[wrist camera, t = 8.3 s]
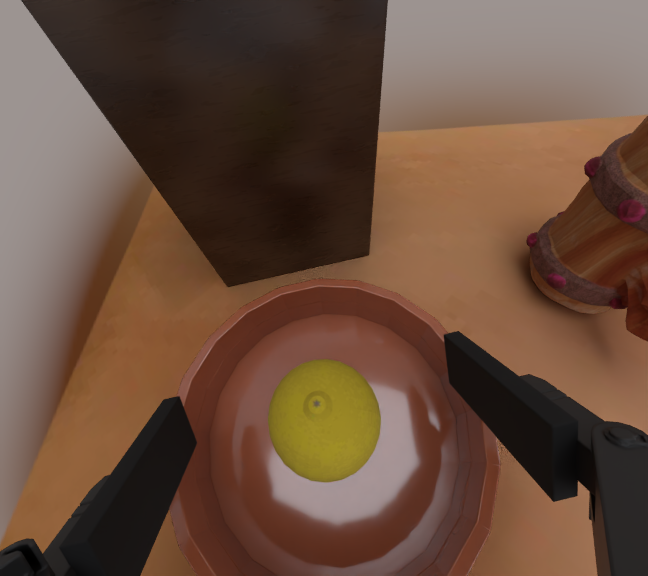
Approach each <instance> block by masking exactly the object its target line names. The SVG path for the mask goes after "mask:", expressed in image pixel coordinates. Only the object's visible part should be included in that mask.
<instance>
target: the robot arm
mask: <svg viewBox="0 0 648 576" xmlns="http://www.w3.org/2000/svg"><path fill="white" fill-rule="evenodd" d="M444 343H445V352H446V361H447V369H448V378H449V384H450V385H451V386H452V387H453V388H454V389H455V390H456V391H457V393H458V394H459V395H460V396H461V397H462V398H463V399H464V401H465V402H466V403H467V404H468V405H469V406H470V407H471V409H472V410H473V411H474V412H475V413H476V414H477V415H478V416H479V418H480V419H481V420H482V421H483V422H484V423H485V424H486V426H487V427H488V428H489V429H490V430H491V431H492V432H493V434H494V435H495V436H496V437H497V438H498V439H499V440H500V442H501V443H502V444H503V445H504V446H505V447H506V448H507V449H508V451H509V452H510V453H511V454H512V455H513V456H514V457H515V459H516V460H517V461H518V462H519V463H520V464H521V465H522V467H523V468H524V469H525V470H526V471H527V472H528V473H529V474H530V476H531V477H532V478H533V479H534V480H535V481H536V482H537V484H538V485H539V486H540V487H541V488H542V489H543V490H544V492H545V493H546V494H547V495H548V496H549V497H550V498H551V500H552V501H553V502H555V501H559V500H563V499H567V498H571V497H575V496H577V492H578V481H579V482H580V483H581V484H582V485H583V486H584V487H586V488H587V489H588V490H589V491H590V502H589V519H590V520H592V528H593V537H594V546H595V556H596V565H597V574H598V576H648V435H647V434H645V433H644V432H643V431H641V430H639V429H637V428H635V427H632V426H630V425H626V424H623V423H619V422H610V421H604V420H602V419H601V418H599V417H598V416H596V415H595V414H593V413H592V412H590V411H589V410H588V409H586V408H585V407H583V406H582V405H580V404H579V403H577V402H576V401H574V400H573V399H571V398H570V397H567V396H566V394H564V393H563V392H561V391H560V390H557V389H556V388H555V387H554V386H552V385H551V384H550V383H548V382H547V381H545V380H543V379H541V378H538V377H535V376H533V375H530V374H528V375H523V376H518V375H517V374H515V373H514V372H513V371H511V370H510V369H509V368H507V367H506V366H504V365H503V364H502V363H500V362H499V361H498V360H496V359H495V358H494V357H492V356H491V355H490V354H488V353H487V352H486V351H484V350H483V349H482V348H480V347H479V346H478V345H476V344H475V343H474V342H472V341H471V340H470V339H468V338H467V337H466V336H464V335H463V334H462V333H460V332H459V331H457V332H452V333H448V334H444ZM196 445H197V440H196V438H195V435H194V433H193V430H192V427H191V425H190V422H189V419H188V417H187V414H186V412H185V409H184V406H183V404H182V401H181V399H180V396H177V397H173V398H169V399H164V400H163V401H162V403H161V404H160V406H159V407H158V408H157V410H156V411H155V413H154V414H153V415H152V417H151V418H150V420H149V421H148V422H147V424H146V425H145V427H144V428H143V430H142V431H141V432H140V434H139V435H138V437H137V438H136V439H135V441H134V442H133V444H132V445H131V446H130V448H129V449H128V451H127V452H126V453H125V455H124V456H123V458H122V459H121V461H120V462H119V463H118V465H117V466H116V468H115V469H114V470H113V472H112V473H111V475H108V476H105V477H104V478H103V479H102V480H100V481H99V482H98V483H97V484H96V485H95V486H94V487H93V488H92V489H91V490H90V491H89V492H88V494H87V495H86V497H85V498H84V499H83V501H82V502H81V503H80V506H78V507H77V509H76V510H75V511H74V513H73V514H72V517H71V518H69V519H68V521H67V522H66V523H65V525H64V526H63V528H62V529H61V530H60V532H59V533H58V534H57V536H56V537H55V538H54V540H53V541H52V542H51V544H50V545H49V546H48V548H47V549H46V550H45V552H44V553H43V554H42V552H41V551H40V549H39V547H38V546H37V544H36V542H35V541H34V539H24V540H21V541H18V542H16V543H14V544H12V545H10V546H8V547H6V548H5V549H3V550H2V551H0V576H140V575H141V572H142V570H143V568H144V565H145V563H146V561H147V558H148V556H149V554H150V552H151V549H152V547H153V545H154V542H155V540H156V538H157V535H158V533H159V531H160V528H161V526H162V524H163V521H164V519H165V517H166V514H167V512H168V510H169V508H170V505H171V503H172V501H173V498H174V496H175V494H176V491H177V489H178V487H179V484H180V482H181V480H182V477H183V475H184V473H185V470H186V468H187V466H188V464H189V461H190V459H191V457H192V454H193V452H194V450H195V447H196Z"/></svg>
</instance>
